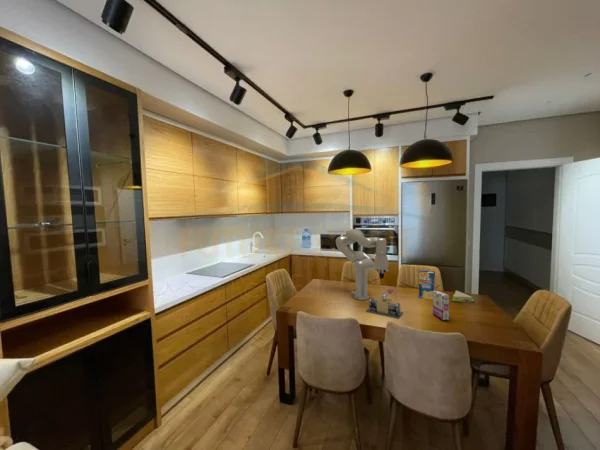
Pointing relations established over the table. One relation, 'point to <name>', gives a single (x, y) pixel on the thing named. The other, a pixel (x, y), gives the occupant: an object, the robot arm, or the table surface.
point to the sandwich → (462, 297)
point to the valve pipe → (384, 308)
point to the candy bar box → (441, 305)
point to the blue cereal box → (426, 284)
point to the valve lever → (387, 293)
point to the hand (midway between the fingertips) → (381, 278)
